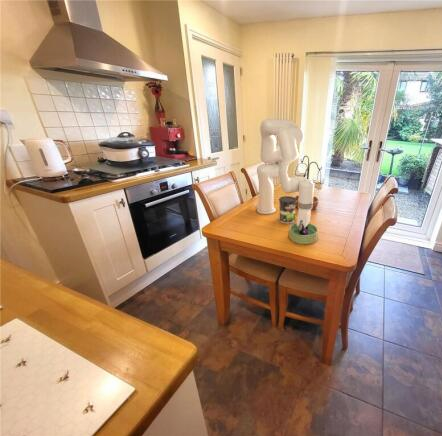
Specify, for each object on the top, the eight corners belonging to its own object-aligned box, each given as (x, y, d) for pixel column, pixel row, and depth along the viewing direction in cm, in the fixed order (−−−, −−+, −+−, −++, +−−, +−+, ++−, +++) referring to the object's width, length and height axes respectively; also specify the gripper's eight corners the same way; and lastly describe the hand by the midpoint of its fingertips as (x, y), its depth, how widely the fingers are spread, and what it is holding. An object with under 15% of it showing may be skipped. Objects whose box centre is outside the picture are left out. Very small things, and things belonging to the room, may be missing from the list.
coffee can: (298, 221, 145) (299, 200, 139) (283, 224, 140) (283, 203, 134) (290, 215, 153) (291, 195, 147) (276, 218, 149) (276, 197, 143)
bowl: (284, 241, 123) (284, 232, 121) (294, 228, 136) (294, 220, 134) (312, 247, 119) (313, 238, 116) (320, 234, 132) (320, 225, 129)
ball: (297, 237, 126) (298, 229, 123) (300, 233, 130) (300, 225, 128) (306, 239, 124) (307, 231, 122) (308, 235, 128) (309, 227, 126)
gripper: (303, 198, 127) (301, 228, 135) (292, 209, 113) (291, 242, 121) (316, 200, 125) (314, 230, 133) (307, 212, 111) (305, 245, 118)
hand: (303, 235), depth 127 cm, fingers closed on ball, 4 cm apart
